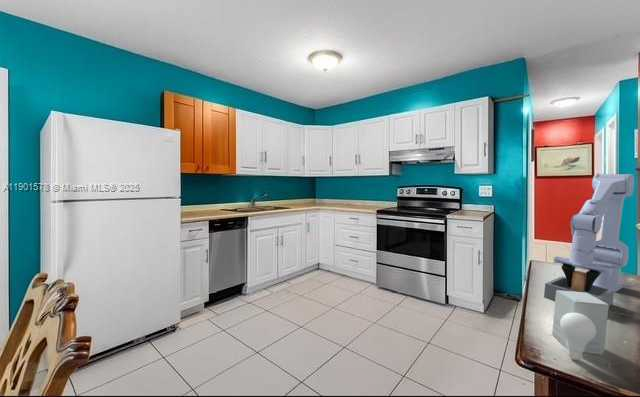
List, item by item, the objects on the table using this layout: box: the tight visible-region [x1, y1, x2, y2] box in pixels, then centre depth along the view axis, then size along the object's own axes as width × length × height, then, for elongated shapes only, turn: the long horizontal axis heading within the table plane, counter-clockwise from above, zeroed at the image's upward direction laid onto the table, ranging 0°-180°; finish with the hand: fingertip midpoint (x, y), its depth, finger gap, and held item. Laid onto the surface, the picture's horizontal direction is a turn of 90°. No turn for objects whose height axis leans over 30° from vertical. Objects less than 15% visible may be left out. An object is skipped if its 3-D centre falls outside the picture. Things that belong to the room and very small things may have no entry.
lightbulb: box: [560, 313, 596, 361], centre depth 65 cm, size 6×6×11 cm
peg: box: [571, 270, 586, 293], centre depth 96 cm, size 4×4×8 cm
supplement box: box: [551, 290, 610, 355], centre depth 71 cm, size 7×7×13 cm
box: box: [543, 276, 615, 308], centre depth 96 cm, size 14×14×5 cm
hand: (578, 288), depth 96 cm, fingers closed on peg, 4 cm apart
